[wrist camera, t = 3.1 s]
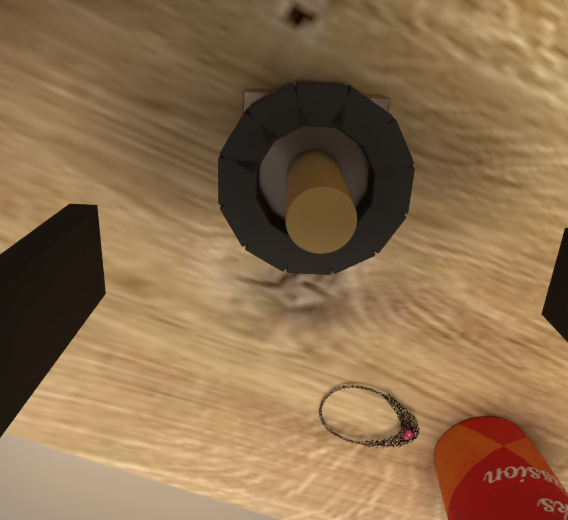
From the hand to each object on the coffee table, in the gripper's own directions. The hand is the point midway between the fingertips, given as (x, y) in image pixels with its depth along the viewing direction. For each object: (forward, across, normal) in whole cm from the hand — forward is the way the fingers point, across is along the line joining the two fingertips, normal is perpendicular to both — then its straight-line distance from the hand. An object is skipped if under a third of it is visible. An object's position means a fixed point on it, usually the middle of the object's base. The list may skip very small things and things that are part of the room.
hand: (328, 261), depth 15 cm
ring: (+9, 0, 0) cm, 9 cm away
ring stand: (+12, 0, 0) cm, 12 cm away
